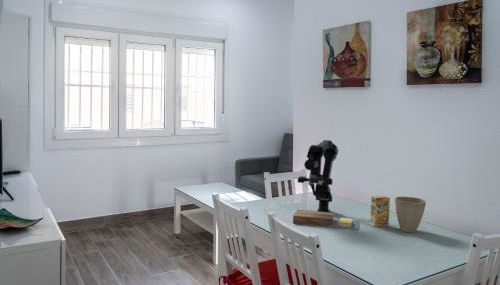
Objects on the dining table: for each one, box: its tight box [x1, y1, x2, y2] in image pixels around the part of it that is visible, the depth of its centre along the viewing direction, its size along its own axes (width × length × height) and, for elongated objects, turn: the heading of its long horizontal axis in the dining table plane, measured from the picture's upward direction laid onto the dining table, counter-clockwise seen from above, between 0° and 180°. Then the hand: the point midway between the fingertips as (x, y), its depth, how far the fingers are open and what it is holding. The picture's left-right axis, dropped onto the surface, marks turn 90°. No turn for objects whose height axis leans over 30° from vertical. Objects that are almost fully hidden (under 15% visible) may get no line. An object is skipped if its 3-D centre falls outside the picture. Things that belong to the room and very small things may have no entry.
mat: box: [331, 218, 360, 231], centre depth 224 cm, size 16×13×1 cm
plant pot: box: [394, 196, 427, 233], centre depth 216 cm, size 15×15×16 cm
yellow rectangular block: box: [339, 217, 353, 227], centre depth 224 cm, size 9×6×2 cm, turn 164°
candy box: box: [369, 195, 391, 227], centre depth 224 cm, size 9×4×15 cm, turn 107°
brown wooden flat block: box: [292, 209, 335, 228], centre depth 228 cm, size 14×20×4 cm
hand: (314, 195), depth 237 cm, fingers closed
